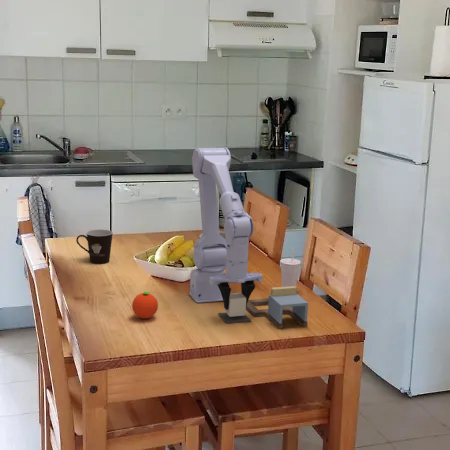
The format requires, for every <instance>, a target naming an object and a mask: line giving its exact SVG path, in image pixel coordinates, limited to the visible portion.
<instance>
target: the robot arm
mask: <svg viewBox="0 0 450 450" xmlns="http://www.w3.org/2000/svg"><path fill="white" fill-rule="evenodd" d="M191 162H192V163H191V165H192V173H193V177H194V178H196V179H197V180H198V189H199V205H200V218H201V229H202V230H201V231H202V232H201V233H203V236H202V237H201V238H200V239H197V240H196V241H195V242H194V244H193V255H192V258H193V264H194V265H195V267H196V268H195V269H192V270H191V272H190V279H189V280H190V282H189V283H190V284H189V286H190V287H189V296H190V297H191V298H192V299H193V300H194V301H195V303H210V302H212V303H213V302H223V308H224V310H225V309H226V310H228V309H229V298H230V293H232V292H231V291H232V287H230V284H240V287H241V288H240V289H241V291H240V292H241V293H242V294H243V295H244V296H245V297H246V306H247V302H248V300H250V296H251V295H252V293H253V291H254V290H255V288H256V284H255V282H258V283H262V282H263V274H262V273H261V272H248V262H249V261H248V260H249V244H250V242H249V241H250V238H251V237H252V236H253V234H254V221H253V219H252V216H250V215H249V213H248V212H245V209H244V206H243V204H242V203H243V202H242V200H241V197H240V194H238V192H234V188H233V187H234V186H233V183H232V179H231V176H230V175H231V174H230V172H229V170H230V167H231V162H232V156H231V152H230V150H229V148H228V147H227V146H226V147H225V146H224V147H196V148H195V149H194V150H193V153H192V157H191ZM217 189H218V191H219V193H220V198H219V200H218V197H217V195H218V194H217ZM218 203H219V206H220V209H221V212H222V215H223V219H224V225H223V232H225V239H224V238H223V237H222V236H220V233H219V231H220V222H219V211H218V209H219V208H218ZM214 244H217V245H219V246H212V247H204V246H205V245H214ZM224 272H225V273H224Z"/></svg>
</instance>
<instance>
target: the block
mask: <svg viewBox="0 0 450 450" xmlns="http://www.w3.org/2000/svg"><path fill="white" fill-rule="evenodd" d="M223 310H224V312H226V313H227V314H228V315H229V316H230V317H232V316H244V315H247V314H246V313H247V312H246V311H247V310H246V297H245V296H244V295H243V294H242V292H241V291H239V292H230V298H229V309H228V310H226V309H225V308H224V309H223Z"/></svg>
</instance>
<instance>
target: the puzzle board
mask: <svg viewBox="0 0 450 450" xmlns="http://www.w3.org/2000/svg"><path fill="white" fill-rule="evenodd" d="M268 304H269V297H267V298H255V299H248V302H247V306H246V311H247V312H248V313H249V314H250V315H251V316H252V317H253V318H257V317H265V318H266V319H267V320H268V321H270V322H271V324H272V325H274V327H276V328H277V330H281V329H283V322H282V323H280V324H279V323H278V322H277V321H276V320H275V319H274V318H273V317H272V316H271V315H270V314H269V313H268V308H263V309H258V308H257V306H259V307H260V306H268ZM292 308H293V307H283V312H282V315H290V316H291V318H293V319H294V320H295V321H296V322H297V323H299V324H300V325H301V326H302V327H303V328H304V327H308V320H307V321H304V320H302V319H301V318H300V317H299V316H298V315H297V314H296V313H294V312H293V311H292Z"/></svg>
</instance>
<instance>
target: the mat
mask: <svg viewBox="0 0 450 450" xmlns="http://www.w3.org/2000/svg"><path fill="white" fill-rule="evenodd" d="M218 316H219V317H220V318H221V319H222V320H223V321H224V323H225V324H226V325H227V324H228V325H229V324H236V323H237V324H238V323H251V322H252V320H251V318H249V317H248V316H247V314H245V315H244V316H232V317H230V316H229V315H228V314H227V313H226V312H225V311H224V312H218Z"/></svg>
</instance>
